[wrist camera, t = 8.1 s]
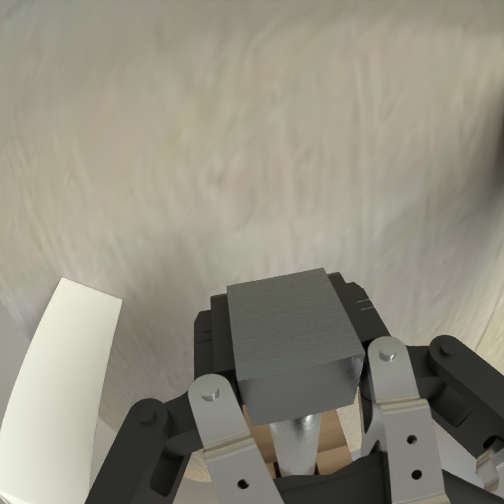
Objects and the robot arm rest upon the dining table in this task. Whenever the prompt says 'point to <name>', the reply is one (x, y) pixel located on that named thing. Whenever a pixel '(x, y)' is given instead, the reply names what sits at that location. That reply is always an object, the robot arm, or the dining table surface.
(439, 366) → the robot arm
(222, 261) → the dining table surface
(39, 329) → the milk
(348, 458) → the bearing block
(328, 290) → the shaft
